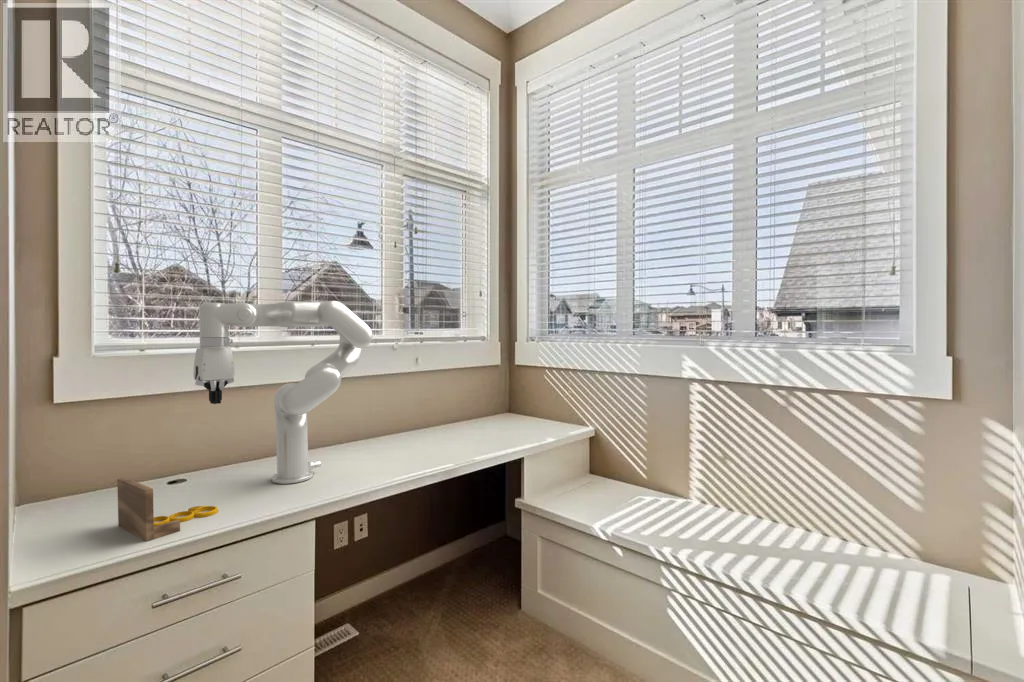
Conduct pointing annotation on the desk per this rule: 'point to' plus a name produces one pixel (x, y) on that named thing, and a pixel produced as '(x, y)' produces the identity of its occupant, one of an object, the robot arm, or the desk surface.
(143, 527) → the display stand
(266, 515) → the desk surface
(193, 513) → the yellow triple ring ornament
